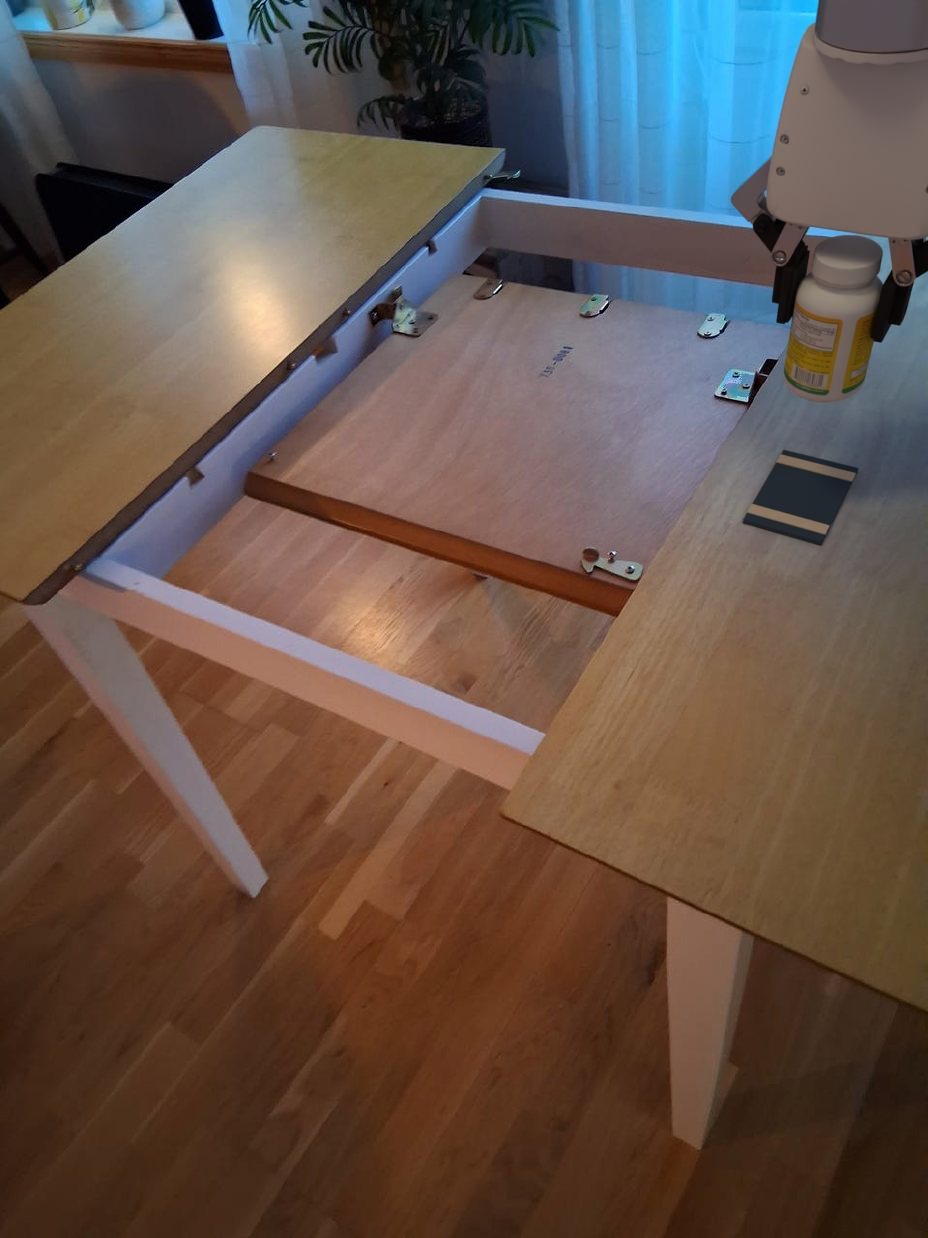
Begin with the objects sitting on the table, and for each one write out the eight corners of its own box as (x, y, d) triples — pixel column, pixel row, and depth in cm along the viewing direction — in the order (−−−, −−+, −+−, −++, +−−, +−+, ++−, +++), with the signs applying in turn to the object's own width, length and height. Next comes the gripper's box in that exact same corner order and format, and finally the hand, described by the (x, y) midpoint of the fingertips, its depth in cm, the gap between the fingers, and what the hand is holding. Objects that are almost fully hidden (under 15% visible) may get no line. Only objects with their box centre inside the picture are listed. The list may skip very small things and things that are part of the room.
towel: (857, 471, 73) (859, 466, 73) (820, 545, 69) (821, 540, 68) (783, 452, 76) (783, 448, 75) (742, 523, 71) (743, 518, 71)
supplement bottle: (791, 408, 63) (812, 278, 55) (775, 363, 66) (793, 234, 59) (873, 400, 62) (906, 267, 55) (853, 354, 65) (880, 224, 58)
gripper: (1099, -16, 45) (989, 315, 59) (756, -25, 52) (729, 271, 66) (1070, 43, 41) (960, 382, 55) (705, 24, 49) (688, 327, 62)
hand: (835, 319), depth 60 cm, fingers closed on supplement bottle, 5 cm apart
